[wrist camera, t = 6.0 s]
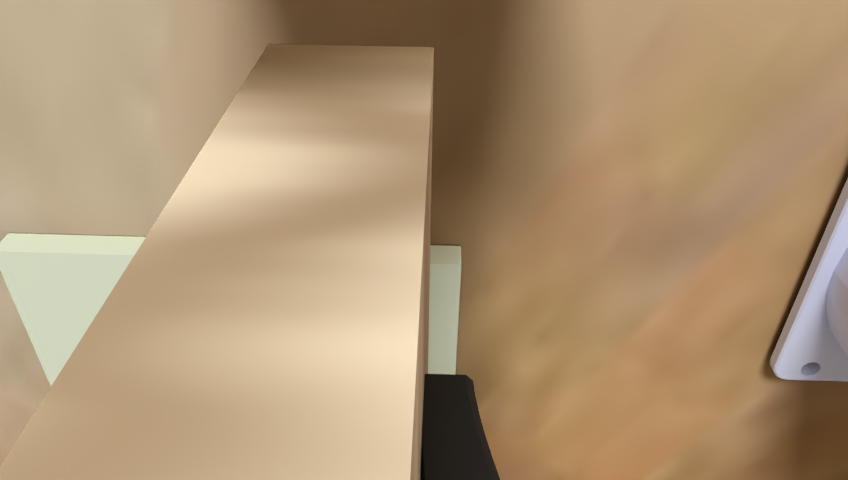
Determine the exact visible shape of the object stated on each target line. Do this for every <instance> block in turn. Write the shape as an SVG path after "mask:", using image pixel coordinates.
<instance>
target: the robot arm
mask: <svg viewBox="0 0 848 480" xmlns="http://www.w3.org/2000/svg"><path fill="white" fill-rule="evenodd" d="M808 363H809V364H808ZM806 364H807V365H806ZM770 366H771V368H772V369H773V371H774V373H775V375H776V376H777V377H779V378H781V379H786V380H815V381H847V382H848V178H847V180H846V183H845V185H844V187H843V190H842V192H841V194H840V197H839V199H838V202H837V204H836V206H835V209H834V211H833V213H832V216H831V218H830V220H829V223H828V225H827V227H826V230H825V232H824V234H823V237H822V239H821V241H820V244H819V246H818V248H817V251H816V253H815V255H814V258H813V260H812V262H811V265H810V267H809V269H808V272H807V274H806V277H805V279H804V281H803V284H802V286H801V288H800V291H799V293H798V295H797V298H796V300H795V302H794V305H793V307H792V309H791V312H790V314H789V316H788V319H787V321H786V323H785V326H784V328H783V330H782V333H781V335H780V337H779V340H778V342H777V344H776V347H775V349H774V352H773V354H772V356H771V359H770ZM421 480H500V478H499V476H498V473H497V470H496V467H495V464H494V461H493V459H492V455H491V452H490V449H489V446H488V443H487V440H486V437H485V433H484V430H483V426H482V423H481V419H480V415H479V411H478V407H477V402H476V397H475V392H474V385H473V381H472V380H471V379H470V378H469V377H468V376H467V375H453V374H425V380H424V400H423V421H422V463H421Z"/></svg>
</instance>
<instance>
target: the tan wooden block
mask: <svg viewBox="0 0 848 480" xmlns="http://www.w3.org/2000/svg"><path fill="white" fill-rule="evenodd" d="M433 71H434V47H402V46H352V45H303V44H268V46H267V47H266V49H265V50H264V52H263V54H262V55H261V57H260V58H259V60H258V61H257V63H256V65H255V66H254V68H253V69H252V71H251V73H250V74H249V76H248V77H247V79H246V80H245V82H244V84H243V85H242V87H241V88H240V90H239V91H238V93H237V95H236V96H235V98H234V99H233V101H232V102H231V104H230V106H229V107H228V109H227V110H226V112H225V113H224V115H223V117H222V118H221V120H220V121H219V123H218V124H217V126H216V128H215V129H214V131H213V132H212V134H211V135H210V137H209V139H208V140H207V142H206V143H205V145H204V146H203V148H202V150H201V151H200V153H199V154H198V156H197V158H196V159H195V161H194V162H193V164H192V165H191V167H190V169H189V170H188V172H187V173H186V175H185V176H184V178H183V180H182V181H181V183H180V184H179V186H178V187H177V189H176V191H175V192H174V194H173V195H172V197H171V198H170V200H169V202H168V203H167V205H166V206H165V208H164V209H163V211H162V213H161V214H160V216H159V217H158V219H157V220H156V222H155V224H154V225H153V227H152V228H151V230H150V231H149V233H148V235H147V236H146V238H145V239H144V241H143V242H142V244H141V246H140V247H139V249H138V250H137V252H136V254H135V255H134V257H133V258H132V260H131V261H130V263H129V265H128V266H127V268H126V269H125V271H124V272H123V274H122V276H121V277H120V279H119V280H118V282H117V283H116V285H115V287H114V288H113V290H112V291H111V293H110V294H109V296H108V298H107V299H106V301H105V302H104V304H103V305H102V307H101V309H100V310H99V312H98V313H97V315H96V316H95V318H94V320H93V321H92V323H91V324H90V326H89V327H88V329H87V331H86V332H85V334H84V335H83V337H82V338H81V340H80V342H79V343H78V345H77V346H76V348H75V350H74V351H73V353H72V354H71V356H70V357H69V359H68V361H67V362H66V364H65V365H64V367H63V368H62V370H61V372H60V373H59V375H58V376H57V378H56V379H55V381H54V383H53V384H52V386H51V387H50V389H49V390H48V392H47V394H46V395H45V397H44V398H43V400H42V401H41V403H40V405H39V406H38V408H37V409H36V411H35V412H34V414H33V416H32V417H31V419H30V420H29V422H28V423H27V425H26V427H25V428H24V430H23V431H22V433H21V434H20V436H19V438H18V439H17V441H16V442H15V444H14V446H13V447H12V449H11V450H10V452H9V453H8V455H7V457H6V458H5V460H4V461H3V463H2V464H1V466H0V480H421V463H422V421H423V400H424V380H425V374H428V342H429V287H430V233H431V179H432V125H433Z"/></svg>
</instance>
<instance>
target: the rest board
mask: <svg viewBox="0 0 848 480" xmlns="http://www.w3.org/2000/svg"><path fill="white" fill-rule="evenodd" d="M145 238H146V237H121V236H85V235H50V234H14V233H8V234H7V235H6V236H5V237H4V239H3V240H2V241H1V242H0V271H1V273H2V276H3V278H4V280H5V282H6V285H7V287H8V289H9V292H10V294H11V296H12V298H13V301H14V303H15V305H16V308H17V310H18V312H19V314H20V317H21V319H22V321H23V324H24V326H25V328H26V330H27V333H28V335H29V337H30V340H31V342H32V344H33V346H34V349H35V351H36V353H37V356H38V358H39V360H40V362H41V365H42V367H43V369H44V372H45V374H46V376H47V378H48V381H49V383H50V385H51V386H52V384H53V383H54V381H55V379H56V378H57V376H58V375H59V373H60V372H61V370H62V368H63V367H64V365H65V364H66V362H67V361H68V359H69V357H70V356H71V354H72V353H73V351H74V350H75V348H76V346H77V345H78V343H79V342H80V340H81V338H82V337H83V335H84V334H85V332H86V331H87V329H88V327H89V326H90V324H91V323H92V321H93V320H94V318H95V316H96V315H97V313H98V312H99V310H100V309H101V307H102V305H103V304H104V302H105V301H106V299H107V298H108V296H109V294H110V293H111V291H112V290H113V288H114V287H115V285H116V283H117V282H118V280H119V279H120V277H121V276H122V274H123V272H124V271H125V269H126V268H127V266H128V265H129V263H130V261H131V260H132V258H133V257H134V255H135V254H136V252H137V250H138V249H139V247H140V246H141V244H142V242H143V241H144V239H145ZM460 282H461V246H441V245H430V287H429V342H428V374H453V375H455V372H456V354H457V336H458V318H459V300H460Z"/></svg>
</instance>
